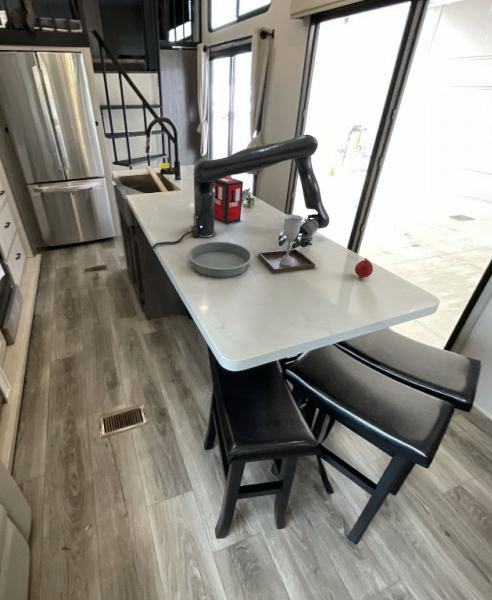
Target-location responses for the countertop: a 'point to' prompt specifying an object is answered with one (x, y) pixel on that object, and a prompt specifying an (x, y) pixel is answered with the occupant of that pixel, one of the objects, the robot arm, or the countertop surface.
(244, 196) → the passion flower
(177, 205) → the countertop surface
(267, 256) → the tray
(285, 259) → the chalice
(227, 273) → the cake pan
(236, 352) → the countertop surface
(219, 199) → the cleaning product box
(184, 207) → the countertop surface
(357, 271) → the onion
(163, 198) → the countertop surface
